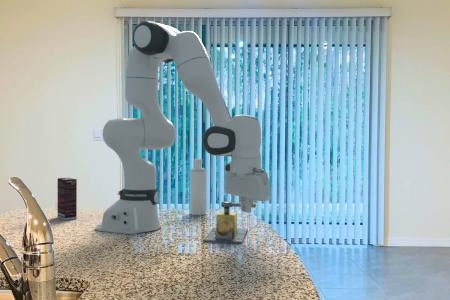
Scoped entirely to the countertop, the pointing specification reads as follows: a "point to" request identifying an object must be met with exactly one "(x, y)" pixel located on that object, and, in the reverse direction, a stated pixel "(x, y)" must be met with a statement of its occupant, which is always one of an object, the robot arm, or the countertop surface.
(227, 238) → the valve
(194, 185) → the grey bottle
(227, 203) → the lever
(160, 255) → the countertop surface
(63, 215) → the supplement box
